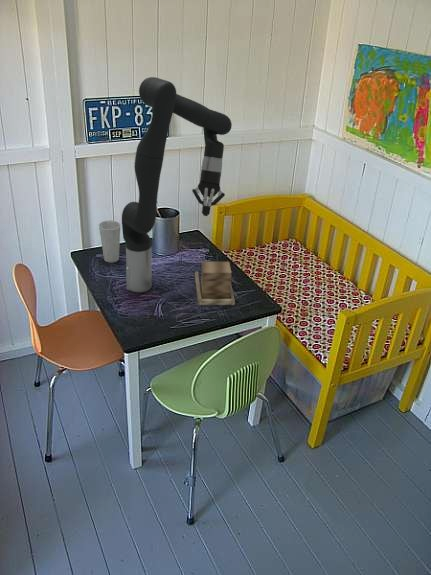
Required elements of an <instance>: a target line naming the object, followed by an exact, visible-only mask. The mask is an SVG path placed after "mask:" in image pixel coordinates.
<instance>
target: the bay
mask: <svg viewBox="0 0 431 575" xmlns="http://www.w3.org/2000/svg"><path fill="white" fill-rule="evenodd" d="M199 276H200V275H199V271H194V279H195V281H194V282H195V288H196V296H197V297H196V298H197V306H235V304H236V300H235V294H234V291H233V287H232V284H231V286H230V298H229V299H202V296H201V282H200V277H199Z"/></svg>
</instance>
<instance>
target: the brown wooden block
mask: <svg viewBox="0 0 431 575" xmlns="http://www.w3.org/2000/svg"><path fill="white" fill-rule="evenodd" d="M200 268H201V271H200V272H201V275H200V291H201V299H230V286H231V285H232V272H233V271H232V270H231V269H232V268H231V265H230V261H201V267H200Z"/></svg>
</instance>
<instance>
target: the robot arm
mask: <svg viewBox="0 0 431 575" xmlns="http://www.w3.org/2000/svg"><path fill="white" fill-rule="evenodd" d="M138 94H139V97H140V100H141V101H142V103H144V104H145V105H146V106H148V107H150V108H152V114H151V115H152V116H151V120H150V124H149V126H148V129H147V130H146V131H145V133H144V135H143V136H142V138H141V139H140V140H139V143H138V145H137V147H136V152H135V158H134V173H135V179H136V183H137V187H138V201H131V202H128V203H126V205H125V206H124V207H123V210H122V212H121V229H122V230H121V231H122V237H123V241H124V243H125V261H126V262H125V263H126V265H125V274H126V275H125V277H126V279H125V280H126V290H127V291H131V292H134V293H144V292H147V291H149V290H150V289H151V288H152V284H153V281H152V279H153V278H152V272H153V271H152V268H153V267H152V238H151V237H150V235H149V234H148V233H150V232H151V231H152V229H153V228H154V226H155V223H156V218H157V204H158V195H159V194H158V192H159V187H160V181H161V180H160V178H161V173H162V169H163V163H164V156H165V150H166V145H167V144H166V143H167V137H168V134H169V128H170V124H171V121H172V117H173V114H175V115H177V116H178V117H180V118H182V119H184V120H186V121H188V122H189V123H192V124H193V125H195V126H197V127H200V128H202V129H203V130H202V131H203V139H204V152H203V158H202V162H201V168H200V169H201V170H200V176H199V177H200V178H199V183H198V184H197V187H195V188H192V189H191V191H192V194H193V195H194V196H195V198H196V200H197V203H198V204H201V206H202V208H201V214H202V216H203V217H208V216H209V215H210V213H211V207H212V206H217V204H218V203H219V202H220V201H221V200H223V198H224V197H225V195H226V194H225V192H223V191H222V190H221V186H220V184H221V183H220V182H221V177H222V169H223V156H224V149H225V148H224V147H225V146H224V143H223V142H222V141H219V140H218V135H220V136H225V135H227V134H229V133H230V132H231V129H232V126H233V124H232V120H231V118H230V117H229V115H227V114H225V113H222V112H219V111H216V110H213V109H211V108H208V107H207V106H205V105H203V104H201V103H199V102H198V101H195V100H192V99H190V98H188V97H185V96H183V95H180V94H178V93H177V89H176V86H175V84H174V83H172V82H171V81H168V80H165V79H162V78H159V77H154V76H150V77H146V78H145V79H144V80H142V82H141V83H140V85H139V88H138ZM199 192H200V194H201V196H202V198H201V197H200V195H199ZM216 195H217V196H216ZM215 196H216V197H215ZM213 198H215V199H213Z"/></svg>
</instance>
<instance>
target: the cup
mask: <svg viewBox="0 0 431 575" xmlns="http://www.w3.org/2000/svg"><path fill="white" fill-rule="evenodd" d="M98 230H99V236H100V241H101V248H102V255H103V260H104V261H105V262H107V263H110V264H111V263H116V262H118V261H119V259H120V241H121V236H120V235H121V223H120V222H119V221H116V220H104V221H101V222H100V223H99V224H98Z"/></svg>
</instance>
